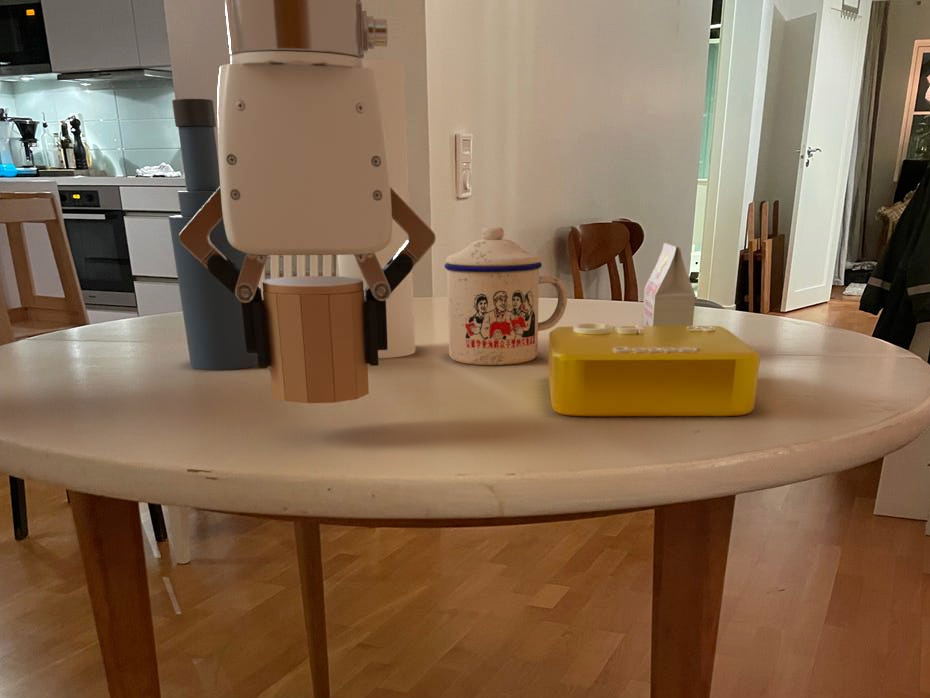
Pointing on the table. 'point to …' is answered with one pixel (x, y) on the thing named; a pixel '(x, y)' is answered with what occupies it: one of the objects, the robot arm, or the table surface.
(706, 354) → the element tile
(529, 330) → the teacup with lid
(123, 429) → the table surface
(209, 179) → the water bottle
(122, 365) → the table surface
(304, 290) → the light wood cylinder
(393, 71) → the cylindrical container
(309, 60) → the robot arm
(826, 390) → the table surface
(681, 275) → the milk carton
